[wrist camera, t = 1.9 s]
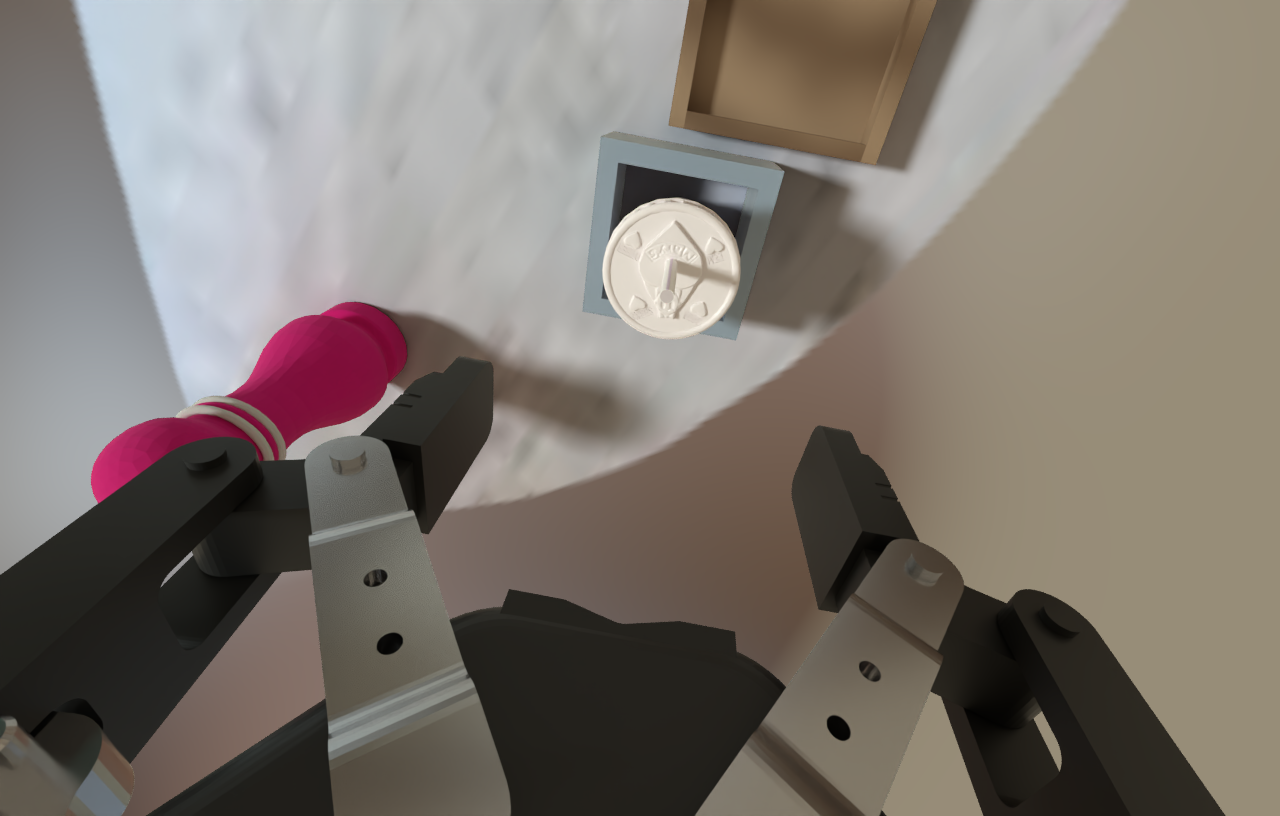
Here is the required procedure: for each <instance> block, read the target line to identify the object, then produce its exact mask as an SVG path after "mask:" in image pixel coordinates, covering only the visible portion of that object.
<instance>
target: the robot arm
mask: <svg viewBox="0 0 1280 816" xmlns="http://www.w3.org/2000/svg"><path fill="white" fill-rule="evenodd" d="M492 421H493V366H492V363H491V362H487V361H482V360H477V359H472V358H466V357H458V358H457V359H456V360H455V361H454V362H453V363H452V364H451V365H450V366H449V368H448V369H447V370H446V371H445V372H444V373H438V372H433V373H431V374H428V375H426V376H424V377H422V378H420V379H417V380H415V381H414V382H413V383H412V384H411V385H410V386H409V387H408V388H407V389H406V390H405V391H404V394H403V395H400V396H399V397H398V398H397V399H396V400H395V401H394V404H393V405H392V404H391V405H390V406H389V407H388V408H387V409H386V410H385V411H384V412H383V413H382V414H381V415H380V416H379V417H378V418H377V419H376V420H375V421H374V422H373V423H372V424H371V425H370V426H369V427H368V428H367V429H366V430H365V431H364V432H363V433H362V434H361V435H360V436H347V437H341V438H337V439H333V440H330V441H328V442H325V443H323V444H321V445H320V446H318V447H316V448H315V449H314V450H312V451H311V452H310V453H309V455H308V456H307V458H306V459H302V460H271V461H259V458H258V454H257V451H256V448H255V446H254V445H253V444H252V443H250V442H249V441H247V440H244V439H241V438H236V437H212V438H206V439H201V440H197V441H194V442H191V443H187V444H185V445H182V446H180V447H178V448H176V449H174V450H172V451H170V452H169V453H167V454H166V455H164V456H163V457H162V458H160V459H159V460H158V461H156V462H155V463H153V464H152V465H151V466H149V467H148V468H147V469H145V470H144V471H142V472H141V473H140V474H138V475H137V476H136V477H134V478H133V479H131V480H130V481H129V482H127V483H126V484H125V485H123V486H122V487H120V488H119V489H118V490H116V491H115V492H114V493H112V494H111V495H110V496H108V497H107V498H105V499H104V500H103V501H101V502H100V503H99V504H97V505H96V506H94V507H93V508H92V509H91V510H89V511H88V512H86V513H85V514H83V515H82V516H81V517H79V518H78V519H77V520H75V521H74V522H73V523H71V524H70V525H68V526H67V527H66V528H64V529H63V530H61V531H60V532H59V533H57V534H56V535H55V536H53V537H52V538H51V539H49V540H48V541H46V542H45V543H44V544H42V545H41V546H40V547H38V548H37V549H35V550H34V551H33V552H31V553H30V554H29V555H27V556H26V557H25V558H23V559H22V560H20V561H19V562H18V563H16V564H15V565H14V566H12V567H11V568H10V569H8V570H7V571H5V572H4V573H2V574H1V575H0V816H121V815H122V814H123V812H124V811H125V809H126V807H127V805H128V803H129V800H130V798H131V795H132V792H133V788H134V773H133V769H132V767H131V766H130V763H131V762H132V761H133V759H134V758H135V757H136V756H137V754H138V753H139V752H140V751H141V749H142V748H143V747H144V745H145V744H146V743H147V742H148V740H149V739H150V738H151V737H152V735H153V734H154V733H155V732H156V730H157V729H158V728H159V727H160V725H161V724H162V723H163V721H164V720H165V719H166V718H167V716H168V715H169V714H170V713H171V711H172V710H173V709H174V708H175V706H176V705H177V704H178V702H179V701H180V700H181V699H182V698H183V696H184V695H185V694H186V693H187V691H188V690H189V689H190V687H191V686H192V685H193V684H194V682H195V681H196V680H197V679H198V677H199V676H200V675H201V674H202V672H203V671H204V670H205V669H206V667H207V666H208V665H209V664H210V662H211V661H212V660H213V658H214V657H215V656H216V655H217V653H218V652H219V651H220V650H221V648H222V647H223V646H224V645H225V643H226V642H227V641H228V640H229V638H230V637H231V636H232V634H233V633H234V632H235V630H236V629H237V628H238V627H239V625H240V624H241V623H242V622H243V621H244V619H245V618H246V617H247V616H248V614H249V613H250V612H251V610H252V609H253V608H254V607H255V605H256V604H257V603H258V602H259V600H260V599H261V598H262V597H263V595H264V594H265V593H266V591H267V590H268V589H269V588H270V586H271V585H272V584H273V583H274V581H275V580H276V579H277V578H278V576H279V575H280V574H281V573H282V572H289V571H301V570H312V576H313V585H314V595H315V603H316V613H317V622H318V632H319V641H320V651H321V660H322V670H323V678H324V687H325V699H324V700H322V701H321V702H319V703H318V704H316V705H315V706H313V707H312V708H310V709H308V710H307V711H305V712H304V713H303V714H301V715H300V716H298V717H296V718H295V719H293V720H292V721H290V722H289V723H287V724H286V725H284V726H282V727H281V728H279V729H278V730H276V731H275V732H273V733H272V734H270V735H269V736H267V737H266V738H264V739H263V740H261V741H259V742H258V743H257V744H255V745H254V746H252V747H250V748H249V749H247V750H246V751H244V752H243V753H241V754H240V755H238V756H237V757H235V758H234V759H232V760H230V761H229V762H227V763H226V764H224V765H223V766H221V767H220V768H218V769H217V770H215V771H214V772H212V773H211V774H209V775H207V776H206V777H204V778H203V779H201V780H200V781H198V782H197V783H195V784H194V785H192V786H191V787H189V788H188V789H186V790H184V791H183V792H181V793H180V794H179V795H177V796H175V797H174V798H172V799H171V800H169V801H168V802H166V803H165V804H163V805H162V806H160V807H158V808H157V809H156V810H154V811H152V812H151V813H149V814H148V815H146V816H886V815H885V814H884V812H883V811H882V808H883V805H884V803H885V800H886V798H887V795H888V793H889V791H890V788H891V786H892V783H893V781H894V778H895V776H896V773H897V771H898V768H899V766H900V764H901V761H902V759H903V756H904V754H905V752H906V749H907V747H908V744H909V742H910V739H911V737H912V734H913V732H914V730H915V727H916V725H917V722H918V720H919V717H920V715H921V712H922V710H923V708H924V705H925V703H926V700H927V698H928V695H929V693H930V691H931V692H933V693H935V694H937V695H939V696H941V697H942V700H943V703H944V706H945V709H946V712H947V714H948V717H949V720H950V723H951V726H952V729H953V731H954V734H955V737H956V740H957V742H958V745H959V748H960V751H961V754H962V756H963V759H964V762H965V765H966V768H967V771H968V773H969V776H970V779H971V782H972V785H973V788H974V790H975V793H976V796H977V799H978V802H979V805H980V807H981V810H982V813H983V816H1225V814H1224V813H1223V812H1222V810H1221V809H1220V807H1219V806H1218V804H1217V803H1216V801H1215V800H1214V799H1213V797H1212V796H1211V794H1210V793H1209V791H1208V790H1207V789H1206V788H1205V786H1204V784H1203V783H1202V781H1201V780H1200V779H1199V777H1198V776H1197V774H1196V773H1195V771H1194V770H1193V768H1192V767H1191V766H1190V764H1189V763H1188V761H1187V760H1186V758H1185V757H1184V756H1183V754H1182V753H1181V751H1180V750H1179V748H1178V747H1177V746H1176V744H1175V743H1174V741H1173V740H1172V738H1171V737H1170V736H1169V734H1168V733H1167V731H1166V730H1165V728H1164V727H1163V725H1162V724H1161V723H1160V721H1159V720H1158V718H1157V717H1156V715H1155V714H1154V712H1153V711H1152V710H1151V708H1150V707H1149V705H1148V704H1147V702H1146V701H1145V700H1144V698H1143V697H1142V696H1141V694H1140V692H1139V691H1138V690H1137V688H1136V687H1135V685H1134V684H1133V683H1132V681H1131V679H1130V678H1129V677H1128V675H1127V674H1126V672H1125V671H1124V669H1123V668H1122V667H1121V665H1120V664H1119V662H1118V661H1117V659H1116V658H1115V657H1114V655H1113V654H1112V652H1111V651H1110V649H1109V648H1108V646H1107V645H1106V644H1105V642H1104V641H1103V640H1102V638H1101V636H1100V635H1099V634H1098V632H1097V631H1096V630H1095V628H1094V627H1093V626H1092V625H1091V624H1090V623H1089V622H1088V621H1087V619H1085V618H1084V617H1083V616H1082V615H1081V614H1080V613H1078V612H1077V611H1076V610H1075V609H1073V608H1072V607H1070V606H1069V605H1068V604H1066V603H1064V602H1063V601H1061V600H1059V599H1057V598H1055V597H1053V596H1051V595H1049V594H1046V593H1044V592H1040V591H1036V590H1031V589H1028V590H1027V589H1025V590H1020V591H1018V592H1016V593H1015V595H1014V596H1013V597H1012V598H1011V599H1010V600H1009V601H1008V603H1004V602H1002V601H999V600H997V599H995V598H992V597H990V596H988V595H985V594H983V593H981V592H978V591H976V590H973V589H971V588H969V587H967V586H965V585H964V581H963V578H962V576H961V574H960V572H959V571H958V569H957V568H956V566H955V565H954V564H953V563H952V562H951V561H950V560H949V559H948V558H947V557H946V556H944V555H943V554H942V553H940V552H939V551H937V550H936V549H934V548H932V547H930V546H928V545H926V544H924V543H921V542H919V540H918V538H917V536H916V534H915V532H914V530H913V528H912V526H911V524H910V522H909V520H908V518H907V516H906V514H905V512H904V510H903V508H902V506H901V504H900V502H898V501H897V499H898V498H897V496H896V494H895V492H894V490H893V489H891V484H890V482H889V480H888V478H887V476H886V475H885V472H884V470H883V469H882V468H881V467H880V466H878V465H877V463H876V462H875V461H874V460H873V459H872V458H870V457H869V455H864V454H861V452H860V450H859V448H858V446H857V444H856V441H855V439H854V437H853V435H852V433H851V432H850V431H846V430H840V429H835V428H830V427H825V426H817V427H816V428H815V429H814V431H813V432H812V435H811V437H810V439H809V442H808V444H807V447H806V449H805V451H804V454H803V456H802V458H801V461H800V463H799V466H798V468H797V470H796V473H795V475H794V479H793V483H792V501H793V505H794V509H795V513H796V517H797V521H798V526H799V530H800V534H801V538H802V542H803V546H804V550H805V555H806V558H807V563H808V567H809V571H810V576H811V579H812V584H813V588H814V592H815V596H816V601H817V605H818V609H819V610H825V611H830V612H836V613H838V614H837V616H836V617H835V619H834V620H833V621H832V623H831V624H830V626H829V627H828V629H827V630H826V631H825V633H824V634H823V636H822V637H821V639H820V640H819V641H818V643H817V644H816V646H815V647H814V649H813V650H812V651H811V653H810V654H809V656H808V657H807V659H806V660H805V661H804V663H803V664H802V666H801V667H800V669H799V670H798V671H797V673H796V674H795V676H794V677H793V679H792V680H791V681H790V683H789V684H788V686H787V687H785V685H784V684H783V683H782V682H781V681H780V680H779V679H777V678H776V677H775V676H774V675H773V674H772V673H770V672H769V671H768V670H767V669H765V668H764V667H763V666H761V665H760V664H758V663H757V662H755V661H754V660H752V659H750V658H749V657H747V656H745V655H743V654H741V653H739V652H737V651H736V641H735V640H736V639H735V632H733V631H729V630H723V629H718V628H713V627H707V626H702V625H697V624H691V623H686V622H681V621H675V622H658V623H657V622H656V623H636V624H621V623H617V622H614V621H612V620H609V619H607V618H605V617H603V616H600V615H598V614H595V613H593V612H591V611H589V610H587V609H585V608H582V607H580V606H578V605H576V604H573V603H571V602H569V601H567V600H564V599H559V598H553V597H548V596H543V595H538V594H532V593H527V592H521V591H516V590H511V589H509V591H508V594H507V596H506V599H505V601H504V604H503V607H493V608H487V609H480V610H476V611H473V612H469V613H465V614H463V615H460V616H458V617H455V618H452V619H450V620H449V617H448V614H447V611H446V608H445V605H444V602H443V599H442V595H441V592H440V589H439V586H438V583H437V580H436V577H435V574H434V571H433V568H432V565H431V562H430V559H429V555H428V552H427V549H426V546H425V543H424V540H423V537H422V534H421V533H425V534H429V533H430V531H431V529H432V528H433V526H434V525H435V523H436V521H437V520H438V518H439V517H440V515H441V513H442V512H443V510H444V508H445V507H446V505H447V504H448V502H449V500H450V499H451V497H452V496H453V494H454V492H455V491H456V489H457V487H458V486H459V484H460V483H461V481H462V479H463V478H464V476H465V474H466V473H467V471H468V470H469V468H470V466H471V465H472V463H473V462H474V460H475V458H476V457H477V455H478V453H479V452H480V450H481V449H482V447H483V445H484V444H485V442H486V440H487V438H488V436H489V434H490V430H491V426H492ZM191 551H192V553H193V556H192V557H191V558H190V559H189V560H188V561H187V562H186V563H185V564H184V565H183V566H182V567H181V568H180V569H179V570H178V571H177V572H176V573H175V574H174V575H173V576H172V577H171V578H170V579H169V580H168V581H167V582H166V583H165V584H164V585H163V586H162V587H161V585H162V582H163V581H164V579H165V578H166V576H167V575H168V574H169V573H170V571H172V570H173V568H175V567H176V566H177V565H178V564H179V563H180V562H181V561H182V560H183V559H184V558H185V557H186V556H187V555H188V554H189V553H190V552H191ZM160 587H161V588H160ZM1041 711H1042V712H1043V714H1044V716H1045V718H1046V720H1047V722H1048V724H1049V726H1050V728H1051V730H1052V732H1053V733H1054V735H1055V737H1056V739H1057V742H1058V744H1059V746H1060V750H1061V756H1062V765H1061V770H1060V772H1059V770H1058V768H1057V766H1056V764H1055V762H1054V759H1053V757H1052V755H1051V753H1050V751H1049V749H1048V747H1047V745H1046V743H1045V741H1044V739H1043V737H1042V735H1041V733H1040V731H1039V729H1038V727H1037V725H1036V723H1035V721H1034V719H1033V718H1034V717H1035V716H1037V715H1038V714H1039V713H1040V712H1041Z"/></svg>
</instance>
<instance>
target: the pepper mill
mask: <svg viewBox="0 0 1280 816" xmlns="http://www.w3.org/2000/svg"><path fill="white" fill-rule="evenodd" d="M406 360H407V347H406V343H405V340H404V337H403V335H402V333H401V332H400V330H399V329H398V327H397V326H396V324H395V323H394V322H393V321H392V320H391V319H390V318H389V317H388V316H387V315H385V314H384V313H382V312H381V311H379V310H378V309H376V308H374V307H371V306H369V305H366V304H363V303H357V302H345V303H341V304H338V305H336V306H334V307H333V308H331V309H329V310H327V311H326V312H324V313H322V314H321V315H309V316H304V317H301V318H298V319H295V320H293V321H291V322H290V323H288V324H287V325H286V326H284V327H283V328H282V329H280V330H279V331H278V332H277V333H276V334H274V336H273V337H272V338H271V340H270V341H269V342H268V344H267V345H266V346H265V348H264V349H263V351H262V353H261V355H260V358H259V360H258V362H257V364H256V366H255V368H254V370H253V372H252V374H251V376H250V377H249V379H248V380H247V381H246V383H245V384H244V385H242V386H241V387H240V388H238V389H237V390H236V391H234V392H233V393H231V394H229V395H227V396H210V397H205V398H202V399H200V400H198V401H197V402H195V403H194V404H193V405H192V406H190V407H188V408H185V409H183V410H182V411H181V412H179V413H178V414H177V416H176V417H175V418H174V417H173V418H157V419H153V420H149V421H146V422H144V423H141V424H139V425H136V426H134V427H131V428H129V429H127V430H126V431H125V432H123V433H122V434H120V435H119V436H117V437H116V438H115V439H113V440H112V441H111V442H110V443H109V444H108V445H107V446H106V447H105V448H104V449H103V451H102V452H101V453H100V454H99V456H98V458H97V459H96V461H95V463H94V466H93V470H92V474H91V485H92V490H93V494H94V496H95V498H96V500H97V502H98V504H99V503H100V502H101V501H103V500H104V499H105V498H107V497H108V496H110V495H111V494H112V493H114V492H115V491H116V490H118V489H119V488H120V487H122V486H123V485H125V484H126V483H127V482H129V481H130V480H131V479H133V478H134V477H136V476H137V475H138V474H140V473H141V472H142V471H144V470H145V469H147V468H148V467H149V466H151V465H152V464H153V463H155V462H156V461H158V460H159V459H160V458H162V457H163V456H164V455H166V454H167V453H169V452H170V451H172V450H174V449H176V448H178V447H180V446H182V445H185V444H187V443H191V442H194V441H197V440H201V439H206V438H212V437H236V438H241V439H244V440H247V441H249V442H250V443H252V444H253V445H254V446H255V448H256V451H257V454H258V458H259V461H271V460H285V458H286V449H287V448H288V447H289V446H290V445H291V444H292V443H293V442H294V441H295V440H297V439H298V438H299V437H301V436H302V435H303V434H305V433H307V432H310V431H312V430H315V429H319V428H323V427H328V426H332V425H337V424H341V423H344V422H347V421H350V420H352V419H354V418H357V417H359V416H361V415H363V414H364V413H366V412H367V411H368V410H370V409H371V408H372V407H374V406H375V405H376V404H377V403H378V402H379V401H380V400H381V398H382V397H383V395H384V393H385V391H386V388H387V384H388V383H389V382H390V381H391V380H392V379H393V378H394V377H395V376H396V375H397V374H399V373H400V371H401V370H402V369H403V368H404V365H405V363H406Z"/></svg>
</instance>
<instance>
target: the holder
mask: <svg viewBox="0 0 1280 816" xmlns="http://www.w3.org/2000/svg"><path fill="white" fill-rule="evenodd" d="M627 164H628V165H634V166H639V167H644V168H649V169H655V170H660V171H665V172H670V173H676V174H681V175H686V176H691V177H697V178H702V179H707V180H712V181H718V182H723V183H728V184H733V185H739V186H744V187H748V190H747V194H746V197H745V201H744V205H743V209H742V213H741V217H740V221H739V225H738V229H737V233H736V236H735V239H736V242H737V246H738V250H739V254H740V267H741V271H740V282H739V287H738V291H737V294H736V296H735V298H734V301H733V303H732V304H731V306H730V308H729V309H728V311H727V312H726V313H725V314H724V316H723V317H722V318H721V319H720V320H719V321H718V322H716V323H715V324H714V325H713V326H711V327H710V328H708V329H707V330H705V331H703V332H701V333H699V334H705V335H710V336H715V337H721V338H726V339H731V340H736V339H737V335H738V332H739V328H740V325H741V321H742V318H743V314H744V311H745V307H746V304H747V300H748V297H749V293H750V290H751V286H752V283H753V280H754V276H755V273H756V269H757V266H758V262H759V259H760V255H761V252H762V248H763V245H764V241H765V238H766V234H767V231H768V227H769V224H770V221H771V217H772V214H773V210H774V207H775V203H776V200H777V196H778V193H779V189H780V186H781V182H782V179H783V175H784V172H785V171H783V170H782V169H781V168H780V167H779V166H777V165H776V164H775V163H774V162H772V161H767V160H761V159H756V158H751V157H746V156H740V155H735V154H730V153H725V152H719V151H714V150H709V149H704V148H698V147H693V146H688V145H683V144H677V143H672V142H667V141H662V140H656V139H651V138H646V137H641V136H635V135H630V134H625V133H620V132H614V131H613V132H611V133H608V134H606V135H603V136H601V140H600V150H599V159H598V169H597V178H596V188H595V197H594V207H593V216H592V226H591V235H590V245H589V254H588V264H587V273H586V283H585V292H584V302H583V312H588V313H593V314H599V315H604V316H609V317H615V318H620V319H622V318H621V317H620V316H619V315H618V314H617V312H616V311H615V310H614V308H613V307H612V305H611V303H610V301H609V299H608V297H607V294H606V291H605V287H604V283H603V272H602V270H603V260H604V255H605V251H606V247H607V245H608V242H609V240H610V238H611V235H612V233H613V231H614V230H615V228H616V227H617V226H618V225H619V220H620V213H621V205H622V198H623V190H624V183H625V175H626V168H627Z"/></svg>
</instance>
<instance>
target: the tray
mask: <svg viewBox="0 0 1280 816" xmlns="http://www.w3.org/2000/svg"><path fill="white" fill-rule="evenodd" d="M936 2H937V0H689V6H688V12H687V18H686V24H685V30H684V36H683V42H682V48H681V54H680V60H679V66H678V72H677V78H676V84H675V90H674V95H673V101H672V107H671V113H670V119H669V126H674V127H679V128H684V129H690V130H695V131H700V132H705V133H711V134H716V135H721V136H726V137H732V138H737V139H742V140H747V141H753V142H758V143H763V144H768V145H774V146H779V147H784V148H789V149H794V150H800V151H805V152H810V153H815V154H821V155H826V156H831V157H836V158H842V159H847V160H852V161H857V162H863V163H868V164H873V165H876V162H877V160H878V157H879V154H880V152H881V149H882V146H883V144H884V141H885V138H886V136H887V133H888V130H889V128H890V125H891V122H892V120H893V117H894V114H895V112H896V109H897V106H898V104H899V101H900V98H901V96H902V93H903V90H904V88H905V85H906V82H907V80H908V77H909V74H910V72H911V69H912V66H913V64H914V61H915V58H916V56H917V53H918V50H919V47H920V45H921V42H922V39H923V37H924V34H925V31H926V29H927V26H928V23H929V21H930V18H931V15H932V13H933V10H934V7H935V5H936Z"/></svg>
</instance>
